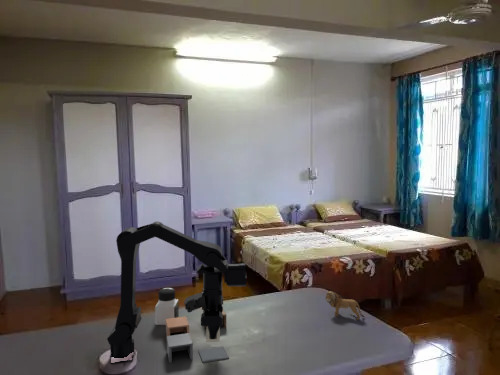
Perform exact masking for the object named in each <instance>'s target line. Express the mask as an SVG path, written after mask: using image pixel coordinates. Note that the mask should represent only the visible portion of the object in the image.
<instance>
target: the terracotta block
mask: <svg viewBox="0 0 500 375" xmlns="http://www.w3.org/2000/svg"><path fill="white" fill-rule="evenodd" d="M182 332H184V334H186V333H189V334H190V324H189V321H188V319H187V316H179V317H177V318H169V319H166V325H165V334H166V337H167V336H171V334H174V333H182Z"/></svg>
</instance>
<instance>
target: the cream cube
mask: <svg viewBox="0 0 500 375" xmlns="http://www.w3.org/2000/svg"><path fill="white" fill-rule="evenodd" d="M205 329H206V330H205V331H206V332H205V334H206V336H205V337H206V338H205V339H206V343H217V342H218V343H219V342H220V341H221V340H220V339H221V331H220V330H221V326H220V327H219V330H218V332H217V334H216V337H215V339H211V337H210V333H209V330H208V326H207V328H206V327H205Z"/></svg>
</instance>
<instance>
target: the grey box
mask: <svg viewBox="0 0 500 375" xmlns="http://www.w3.org/2000/svg"><path fill="white" fill-rule="evenodd" d="M179 351H187V353H188V355H189V356H188V357H189V359H190V360H193V354H194V351H193V340H192V337H191V334H190V332H189V333H186V334H185V333H181V334H174V335H170V336H167V335H166V354H167V358H168V363H171V364H172V363H173V361H172V360H173V356H172V353H174V352H179Z"/></svg>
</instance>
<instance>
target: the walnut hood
mask: <svg viewBox="0 0 500 375" xmlns="http://www.w3.org/2000/svg"><path fill="white" fill-rule="evenodd" d="M203 312H204V310H202V313H203ZM222 314H223V325H222V326H223V328H224V329H227V313H226V312H225V310H224V309H223V311H222ZM204 327H205V329H206V328H207V326H204Z"/></svg>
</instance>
